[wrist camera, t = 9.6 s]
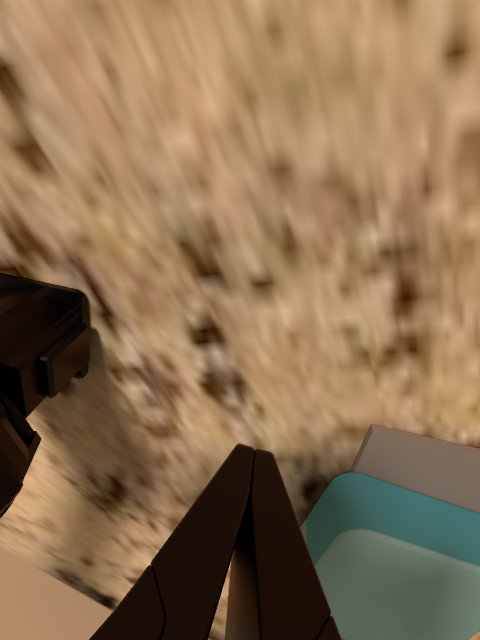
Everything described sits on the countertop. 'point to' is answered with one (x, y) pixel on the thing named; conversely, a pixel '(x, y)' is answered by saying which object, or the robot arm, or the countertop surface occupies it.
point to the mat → (422, 465)
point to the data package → (395, 561)
